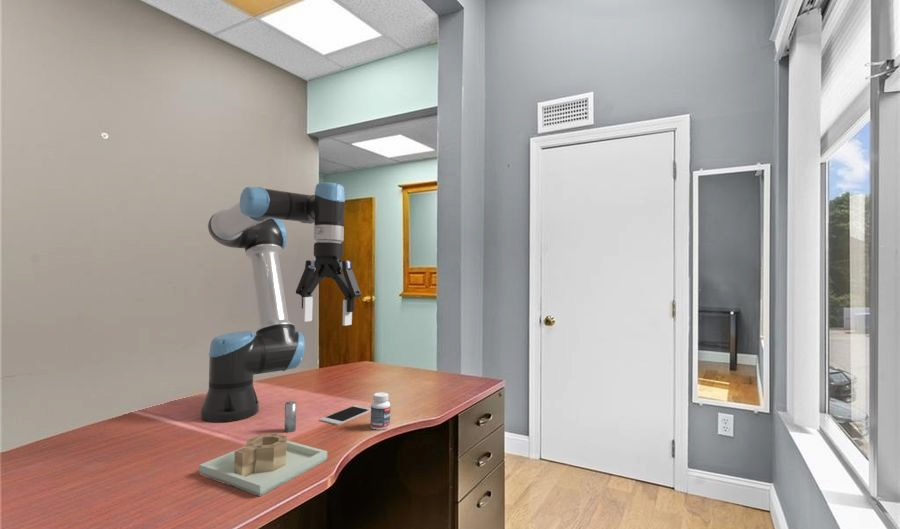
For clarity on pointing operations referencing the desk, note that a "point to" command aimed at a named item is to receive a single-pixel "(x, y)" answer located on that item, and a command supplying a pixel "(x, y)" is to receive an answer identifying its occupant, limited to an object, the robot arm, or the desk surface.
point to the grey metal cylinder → (290, 416)
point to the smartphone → (345, 415)
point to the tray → (261, 483)
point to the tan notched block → (261, 455)
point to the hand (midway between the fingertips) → (326, 323)
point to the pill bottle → (380, 412)
